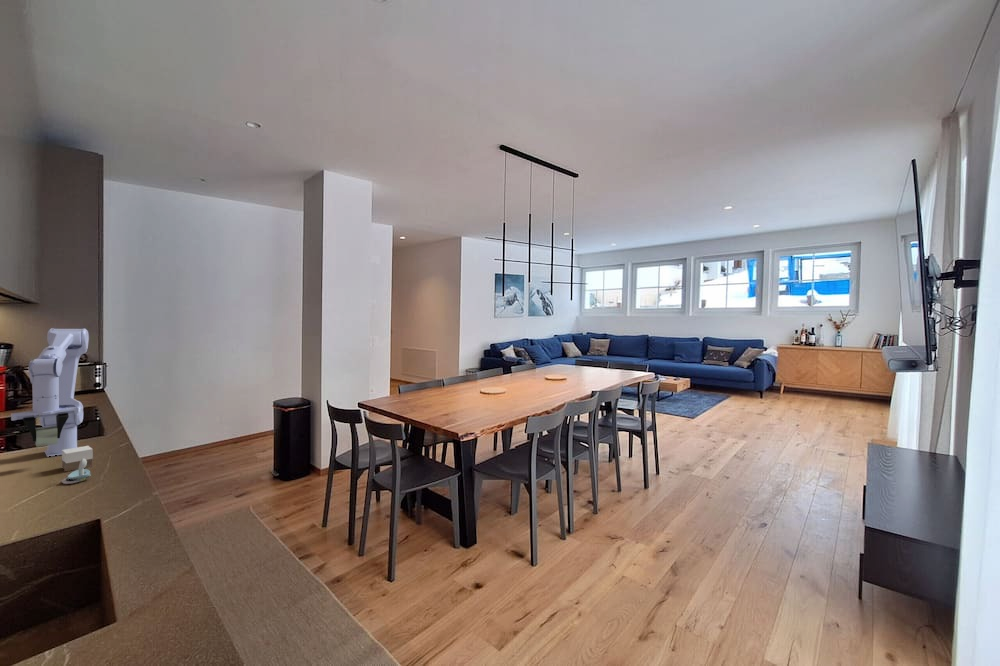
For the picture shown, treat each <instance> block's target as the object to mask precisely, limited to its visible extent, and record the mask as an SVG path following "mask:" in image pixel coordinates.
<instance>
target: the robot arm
mask: <svg viewBox="0 0 1000 666" xmlns="http://www.w3.org/2000/svg"><path fill="white" fill-rule="evenodd" d="M46 339H47V344H48V346H46V347H44V348H43V350H42V351H41V352H40V354H39V355H38V356H37V358H34V359H33V360H30V361H29V362H28V375H29V377H30V379H29V380H30V381H29V382H30V384H32V385H31V386H32V388H31V389H32V410H28V411H23V412H22V411H21V412H14V413H13V412H12V413H10V420H11V421H13V422H14V421H17V420H22V421H23V423H24V424H25V426H26V427H27V429H28V430H29V433H30V435H31V439H32V442H33V443H34V442H35V441H36V431H35V429H36V428H37V426H36V424H37V423H36V422H37V421H36V418H39V424H40V426H42V427H41V428H43V427H51V426H56V427H57V442H58V444H53V445H47V449H45V450H44V451H43V452H44V453H45V456H46V458H49V456H51V457H56V456H55V455H57V456H62V450H65V449H71V448H77V447H78V426H79V425H80V424H81V423H83V420H84V405H83V403H82V401H80V400H77V399H75V389H76V381H77V376H78V375H77V373H78V369H79V361H80V358H81V356H82V355H84V354H86V353H87V351H88V347H89V341H90V335H89V330H87V329H86V328H54V327H51V328H50V329H49V330H48V331H47V335H46Z"/></svg>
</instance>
